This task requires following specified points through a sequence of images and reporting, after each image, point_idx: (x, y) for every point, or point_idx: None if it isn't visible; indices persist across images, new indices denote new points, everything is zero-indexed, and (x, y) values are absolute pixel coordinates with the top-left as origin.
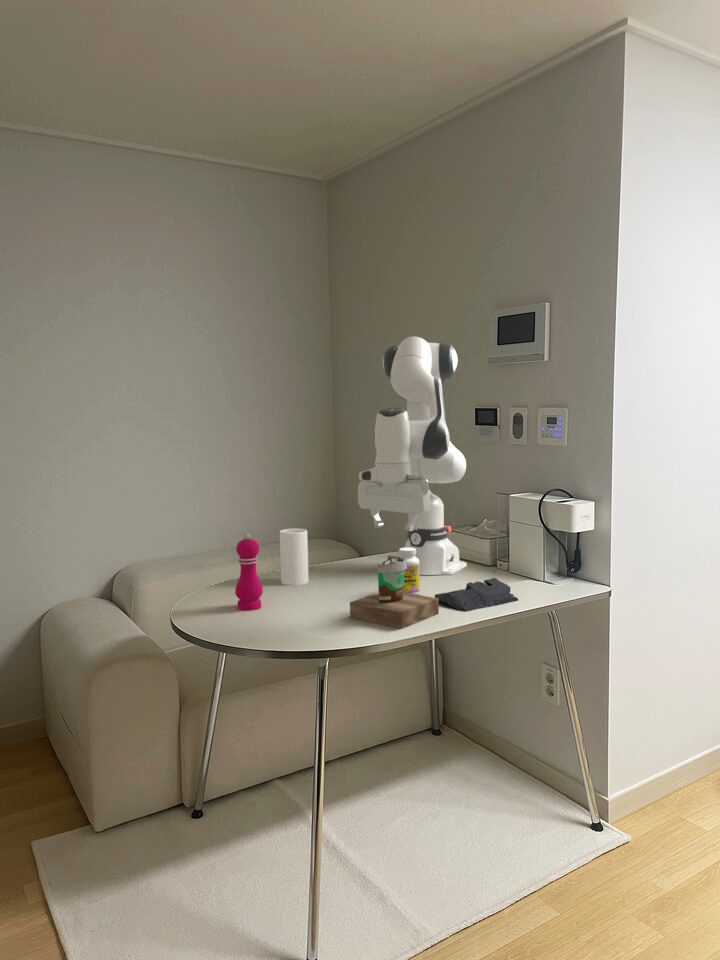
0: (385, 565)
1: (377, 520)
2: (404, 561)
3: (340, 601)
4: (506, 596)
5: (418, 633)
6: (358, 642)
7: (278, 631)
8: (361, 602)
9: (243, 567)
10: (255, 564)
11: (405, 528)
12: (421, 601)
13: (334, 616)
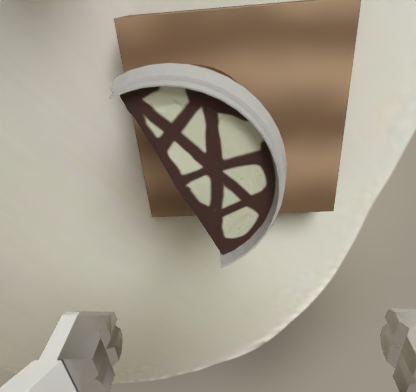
0: (247, 248)
1: (78, 389)
2: (270, 145)
3: (4, 92)
4: None
5: (377, 192)
6: (294, 293)
7: (131, 320)
8: (177, 201)
9: None
10: None
11: (391, 360)
12: (324, 82)
13: (123, 206)
